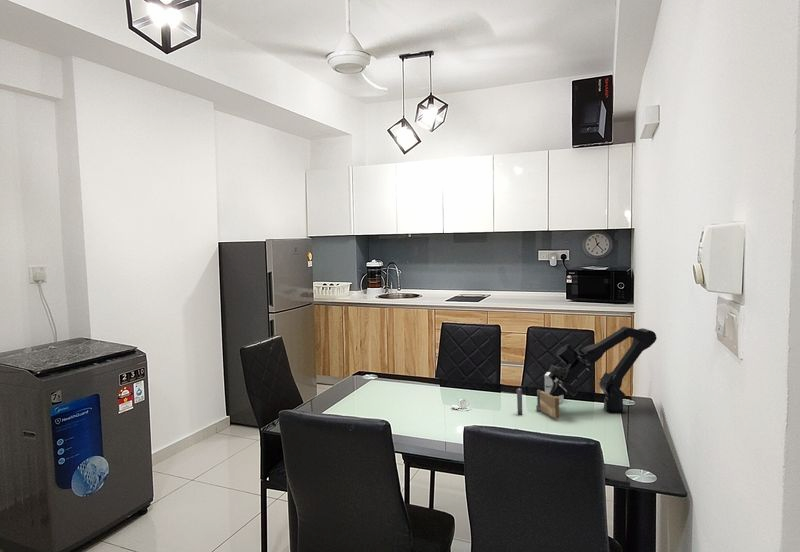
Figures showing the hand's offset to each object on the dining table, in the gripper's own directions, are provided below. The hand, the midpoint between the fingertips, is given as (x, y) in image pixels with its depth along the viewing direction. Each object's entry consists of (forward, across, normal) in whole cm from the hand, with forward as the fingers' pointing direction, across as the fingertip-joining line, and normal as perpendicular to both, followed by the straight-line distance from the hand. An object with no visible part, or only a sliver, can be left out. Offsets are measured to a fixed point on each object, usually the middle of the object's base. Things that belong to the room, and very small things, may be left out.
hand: (548, 398), depth 210 cm
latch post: (+13, -2, -4) cm, 14 cm away
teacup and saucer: (+30, -17, -20) cm, 40 cm away
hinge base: (+6, -5, +3) cm, 9 cm away
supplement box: (-1, -17, +11) cm, 21 cm away
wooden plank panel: (+5, +1, +4) cm, 6 cm away
